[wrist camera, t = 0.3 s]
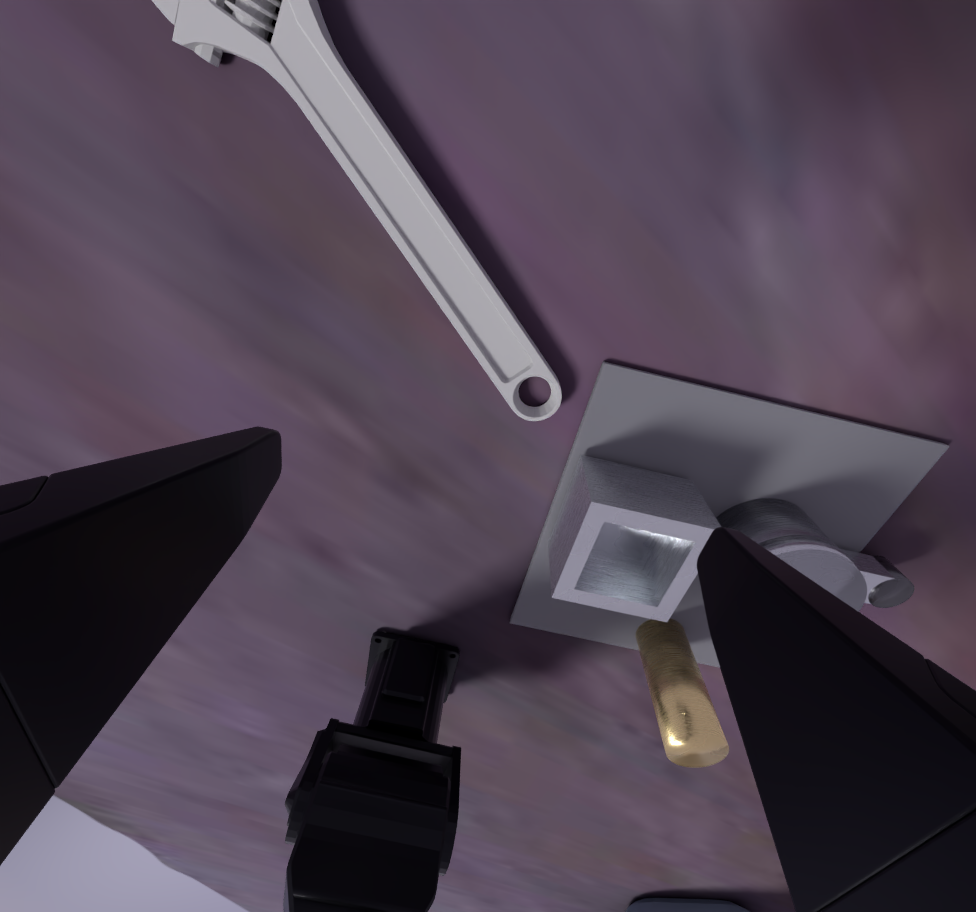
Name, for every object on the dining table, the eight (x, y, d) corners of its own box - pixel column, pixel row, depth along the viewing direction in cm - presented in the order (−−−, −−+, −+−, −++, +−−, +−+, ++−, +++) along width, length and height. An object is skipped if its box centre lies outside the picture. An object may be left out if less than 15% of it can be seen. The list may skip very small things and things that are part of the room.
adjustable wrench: (571, 393, 23) (574, 406, 22) (467, 445, 25) (464, 461, 24) (208, -287, 13) (167, -350, 12) (84, -116, 15) (35, -151, 14)
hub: (774, 584, 28) (820, 654, 24) (681, 564, 28) (710, 631, 23) (832, 507, 25) (897, 571, 21) (728, 483, 25) (772, 543, 20)
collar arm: (923, 533, 24) (995, 592, 21) (853, 610, 28) (905, 673, 24) (580, 454, 24) (591, 501, 20) (547, 542, 27) (551, 597, 23)
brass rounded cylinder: (672, 653, 31) (711, 772, 25) (628, 644, 31) (656, 760, 24) (692, 623, 30) (740, 741, 23) (646, 613, 29) (681, 729, 23)
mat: (754, 671, 32) (756, 675, 32) (509, 619, 31) (509, 623, 31) (944, 443, 23) (949, 446, 22) (603, 361, 22) (604, 362, 22)
